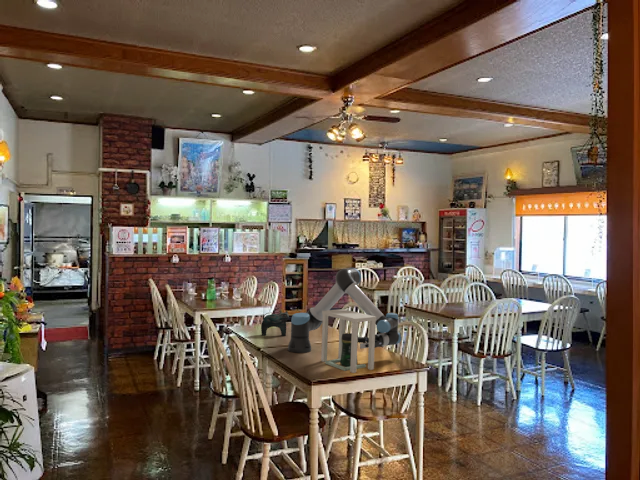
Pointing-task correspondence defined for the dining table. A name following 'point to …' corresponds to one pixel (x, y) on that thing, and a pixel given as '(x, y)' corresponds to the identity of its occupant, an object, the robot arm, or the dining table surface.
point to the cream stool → (354, 318)
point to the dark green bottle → (346, 349)
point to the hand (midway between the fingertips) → (352, 343)
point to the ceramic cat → (275, 322)
